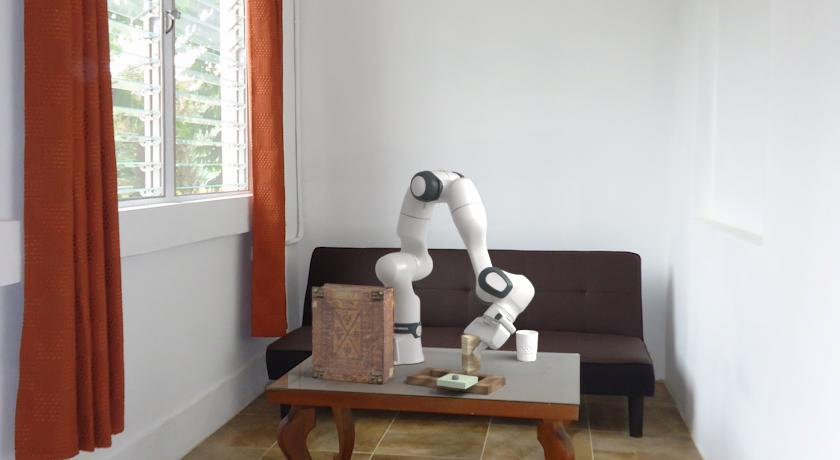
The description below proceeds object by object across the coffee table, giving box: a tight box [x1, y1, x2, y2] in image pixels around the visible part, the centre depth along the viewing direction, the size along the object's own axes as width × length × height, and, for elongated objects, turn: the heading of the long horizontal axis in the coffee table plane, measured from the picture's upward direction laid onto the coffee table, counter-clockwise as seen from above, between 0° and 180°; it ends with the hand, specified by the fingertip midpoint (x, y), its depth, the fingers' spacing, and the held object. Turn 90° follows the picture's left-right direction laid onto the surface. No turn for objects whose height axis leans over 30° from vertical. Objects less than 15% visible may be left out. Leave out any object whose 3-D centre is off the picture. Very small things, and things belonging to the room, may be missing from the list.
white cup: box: [515, 329, 539, 363], centre depth 307 cm, size 8×8×10 cm
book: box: [311, 283, 395, 385], centre depth 278 cm, size 25×9×30 cm, turn 70°
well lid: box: [437, 373, 478, 389], centre depth 261 cm, size 10×9×3 cm
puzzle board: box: [406, 366, 507, 396], centre depth 272 cm, size 28×14×2 cm, turn 62°
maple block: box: [461, 334, 482, 373], centre depth 268 cm, size 4×4×11 cm
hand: (469, 352), depth 268 cm, fingers closed on maple block, 4 cm apart
